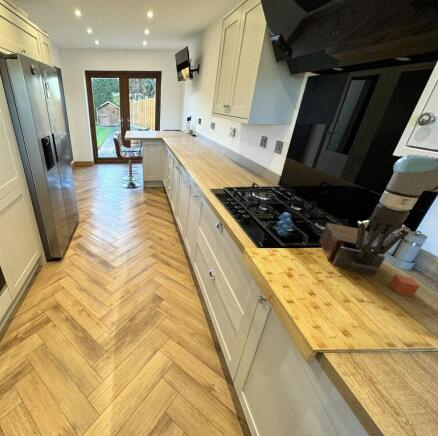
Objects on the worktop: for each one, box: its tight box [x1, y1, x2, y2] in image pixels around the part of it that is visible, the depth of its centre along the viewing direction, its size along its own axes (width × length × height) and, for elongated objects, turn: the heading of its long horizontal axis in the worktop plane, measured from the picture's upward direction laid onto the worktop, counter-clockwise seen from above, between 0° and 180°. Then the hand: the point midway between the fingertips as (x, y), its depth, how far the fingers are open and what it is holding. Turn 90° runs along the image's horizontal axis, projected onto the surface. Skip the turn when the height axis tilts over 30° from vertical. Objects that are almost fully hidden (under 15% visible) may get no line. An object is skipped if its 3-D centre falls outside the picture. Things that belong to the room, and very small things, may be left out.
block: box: [388, 274, 421, 298], centre depth 78 cm, size 4×4×4 cm
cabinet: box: [318, 222, 376, 263], centre depth 95 cm, size 16×14×10 cm
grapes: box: [275, 211, 295, 237], centre depth 107 cm, size 12×7×12 cm, turn 165°
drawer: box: [332, 242, 386, 276], centre depth 89 cm, size 20×13×8 cm, turn 158°
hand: (359, 267), depth 83 cm, fingers closed
